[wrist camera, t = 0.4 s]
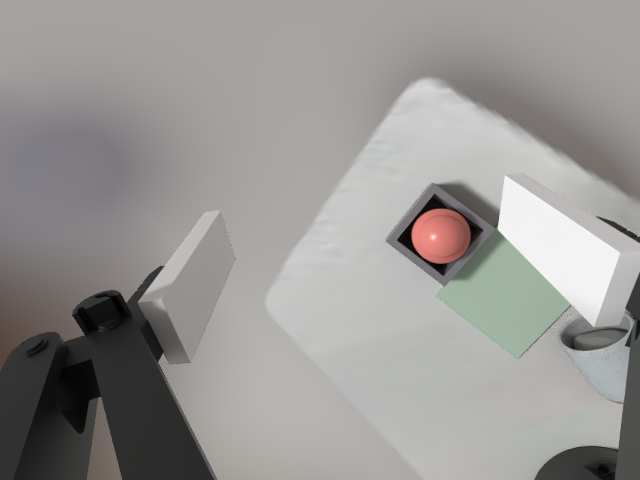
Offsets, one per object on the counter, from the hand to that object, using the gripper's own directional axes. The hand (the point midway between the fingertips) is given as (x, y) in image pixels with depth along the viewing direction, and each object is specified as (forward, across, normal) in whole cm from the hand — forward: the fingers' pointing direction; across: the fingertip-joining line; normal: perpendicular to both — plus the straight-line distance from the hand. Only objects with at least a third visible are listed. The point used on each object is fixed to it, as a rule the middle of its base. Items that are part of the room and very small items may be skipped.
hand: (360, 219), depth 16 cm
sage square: (+20, -20, +23) cm, 36 cm away
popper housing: (+25, -11, +16) cm, 31 cm away
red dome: (+23, -11, +15) cm, 29 cm away
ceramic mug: (+17, -30, +28) cm, 44 cm away
